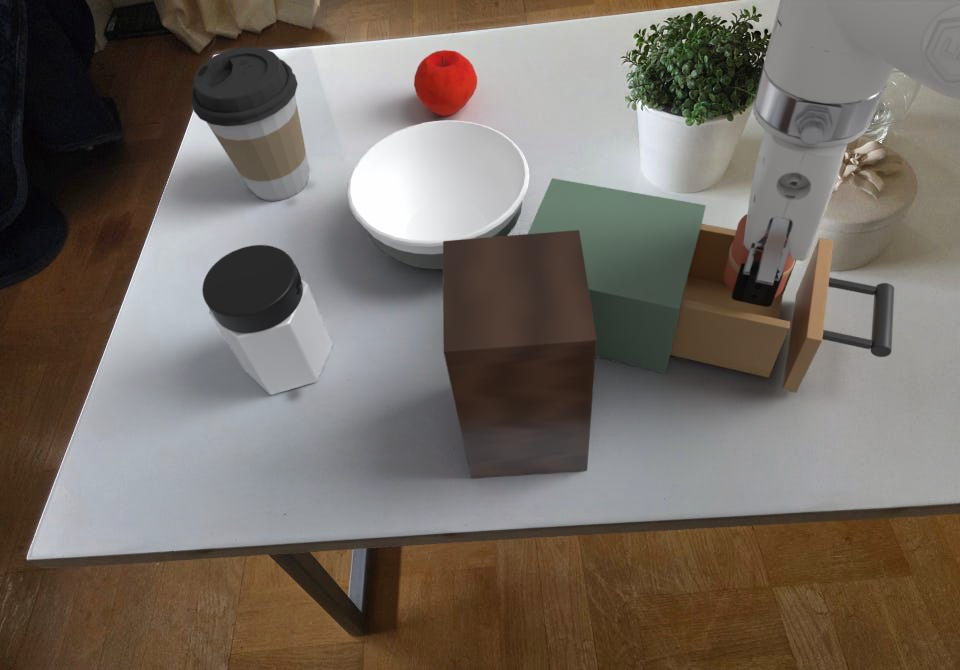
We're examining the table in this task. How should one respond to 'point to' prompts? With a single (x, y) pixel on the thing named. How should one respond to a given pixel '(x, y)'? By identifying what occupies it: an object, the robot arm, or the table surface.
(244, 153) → the coffee cup
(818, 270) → the drawer
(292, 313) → the jar
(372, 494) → the table surface
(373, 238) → the bowl
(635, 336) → the cabinet
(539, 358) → the block
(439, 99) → the apple
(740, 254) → the red cylinder
